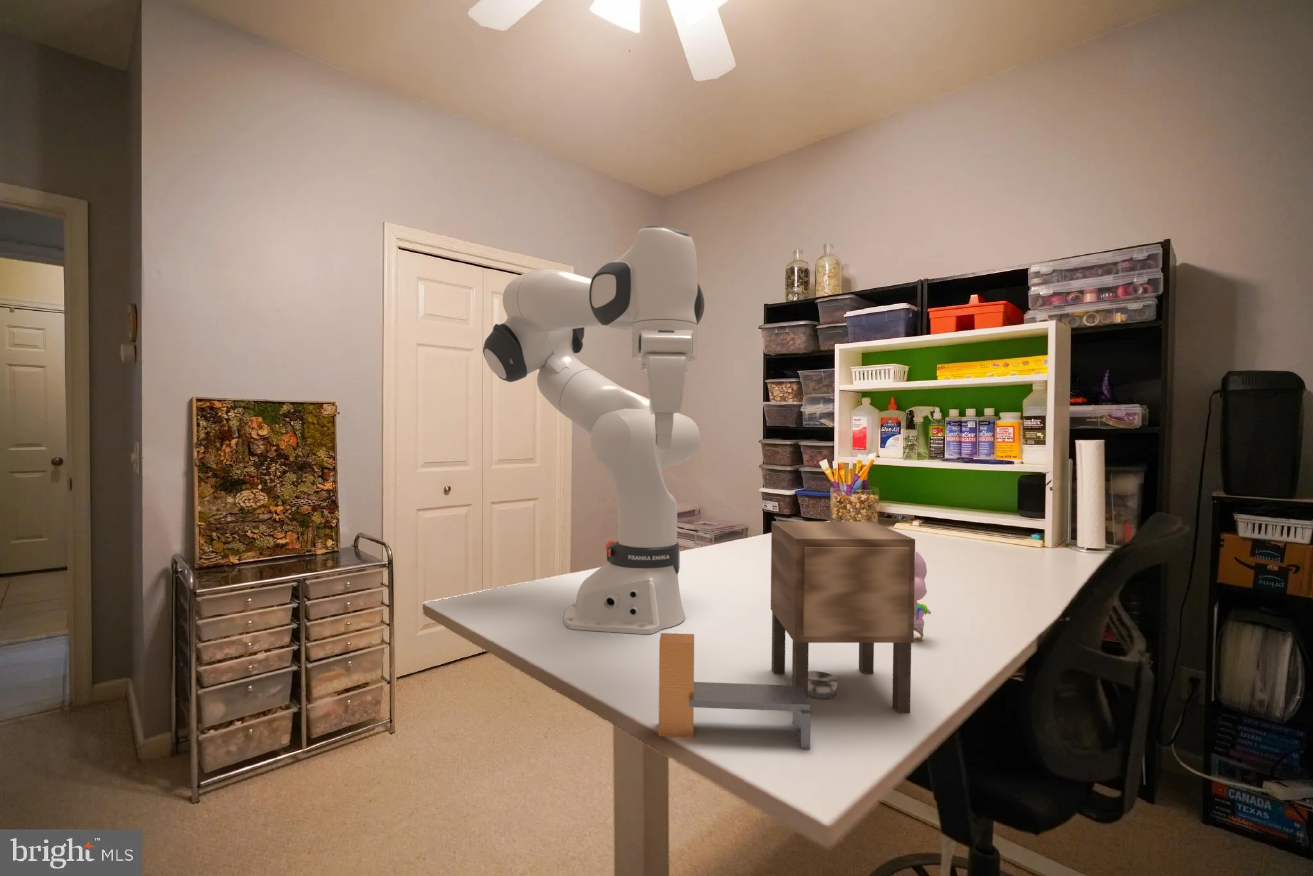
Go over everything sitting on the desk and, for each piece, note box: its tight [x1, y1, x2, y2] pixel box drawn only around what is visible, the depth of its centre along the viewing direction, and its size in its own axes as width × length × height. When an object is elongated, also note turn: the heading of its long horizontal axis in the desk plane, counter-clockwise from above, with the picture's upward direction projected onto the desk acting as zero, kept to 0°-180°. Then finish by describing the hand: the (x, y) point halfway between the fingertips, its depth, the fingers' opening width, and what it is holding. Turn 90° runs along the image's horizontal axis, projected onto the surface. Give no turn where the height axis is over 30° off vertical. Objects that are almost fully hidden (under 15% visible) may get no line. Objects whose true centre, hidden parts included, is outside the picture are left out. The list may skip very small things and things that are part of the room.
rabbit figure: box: [914, 551, 932, 642], centre depth 101 cm, size 6×6×15 cm
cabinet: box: [770, 520, 916, 714], centre depth 82 cm, size 15×15×22 cm
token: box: [808, 670, 839, 701], centre depth 82 cm, size 5×5×2 cm
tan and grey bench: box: [658, 632, 812, 751], centre depth 71 cm, size 17×6×11 cm, turn 86°
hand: (662, 447), depth 83 cm, fingers open, 8 cm apart
